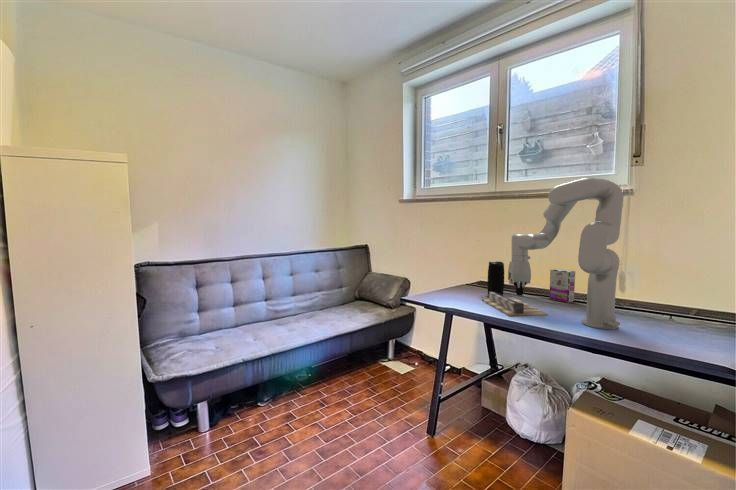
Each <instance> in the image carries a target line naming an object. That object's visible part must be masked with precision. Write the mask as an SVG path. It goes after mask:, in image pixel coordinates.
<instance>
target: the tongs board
mask: <svg viewBox="0 0 736 490" xmlns="http://www.w3.org/2000/svg"><path fill="white" fill-rule="evenodd" d="M509 298H510V299H512V300H514V301H516V302H518V303H514V302H512V301H510V300H508V299H506V298H504V297H502V296H500V295H498V294H495V293H493V292H489V296H488V298H481V301H482V302H484V303H486V304H487V305H489V306H491V307H492V308H493V309H496V310H497V311H499V312H501V313H502V314H504V315H506V316H507V317H532V316H533V317H534V316H535V317H536V316H537V317H538V316H539V317H540V316H543V317H544V316H548V312H546V311H543V310H542V309H539V308H538V307H535V306H533V305H530V304H529V303H527V302H524V301H522V300H520V299H518V298H515V297H509Z"/></svg>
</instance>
